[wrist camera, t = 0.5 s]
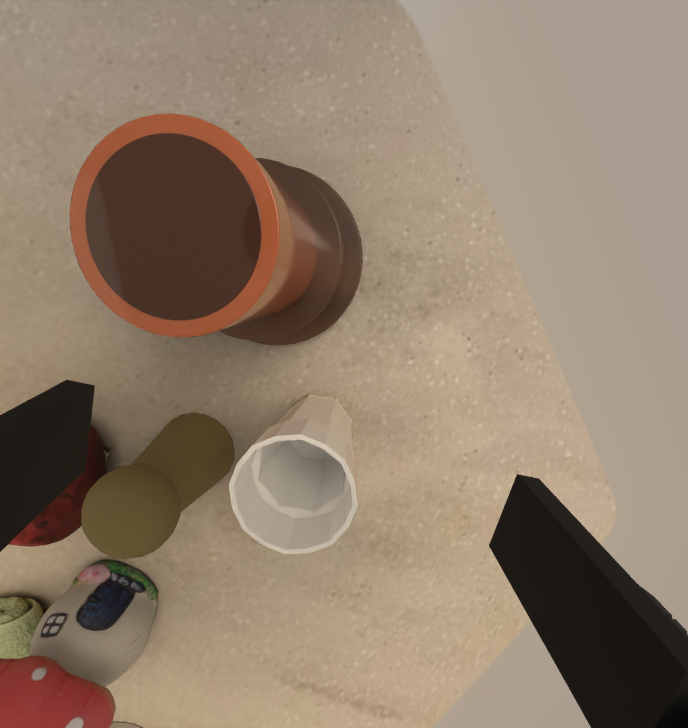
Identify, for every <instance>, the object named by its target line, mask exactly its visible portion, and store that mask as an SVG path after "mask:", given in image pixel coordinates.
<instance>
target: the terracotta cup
mask: <svg viewBox="0 0 688 728" xmlns="http://www.w3.org/2000/svg"><path fill="white" fill-rule="evenodd" d="M70 231H71V239H72V244H73V247H74V251H75V255H76V258H77V260H78V263H79V266H80V268H81V270H82V272H83V274H84V276H85V278H86V280H87V282H88V283H89V284H90V286H91V287H92V289H93V290H94V292H95V293H96V294H97V295H98V297H99V298H100V299H101V300H102V301H103V302H104V304H106V305H107V306H108V307H109V308H110V309H111V310H112V311H113V312H114V313H116V314H117V315H118V316H120V317H121V318H123V319H124V320H125V321H127V322H129V323H131V324H132V325H134V326H136V327H138V328H140V329H143V330H145V331H148V332H150V333H154V334H158V335H162V336H169V337H195V336H202V335H206V334H209V333H213V332H216V331H219V330H223V329H226V328H229V327H232V326H236V325H239V324H242V323H246V322H249V321H252V320H256V319H259V318H262V317H266V316H269V315H272V314H276V313H278V312H280V311H283V310H285V309H286V308H288V307H289V306H291V305H292V304H293V303H295V302H296V301H297V300H298V299H299V298H300V297H301V296H302V295H303V293H304V292H305V290H306V289H307V288H308V286H309V284H310V282H311V280H312V277H313V274H314V271H315V267H316V261H317V244H316V238H315V234H314V231H313V228H312V226H311V223H310V221H309V219H308V218H307V216H306V214H305V213H304V212H303V210H302V209H301V208H300V206H299V205H298V204H297V203H296V202H295V201H294V200H293V199H292V198H291V197H290V196H289V194H288V193H287V192H286V191H285V190H284V189H283V188H282V187H281V186H280V185H279V183H278V182H277V181H276V180H275V179H274V178H273V177H272V176H271V175H270V174H269V173H268V171H267V170H266V169H265V168H264V167H263V166H262V165H261V164H260V163H259V162H258V161H257V159H256V158H255V157H254V156H253V155H252V154H251V153H250V152H249V151H248V150H247V149H246V148H245V147H244V146H243V145H242V144H241V143H240V142H239V141H238V140H237V139H235V138H234V137H233V136H232V135H230V134H229V133H228V132H226V131H225V130H223V129H221V128H219V127H217V126H216V125H214V124H212V123H209V122H207V121H204V120H202V119H199V118H195V117H191V116H187V115H180V114H155V115H150V116H145V117H141V118H138V119H135V120H133V121H130V122H128V123H126V124H124V125H122V126H120V127H118V128H116V129H115V130H114V131H112V132H111V133H110V134H108V135H107V136H106V137H105V138H104V139H103V140H102V141H101V142H100V143H99V144H98V145H97V146H96V147H95V148H94V149H93V151H92V152H91V153H90V155H89V156H88V157H87V159H86V160H85V162H84V164H83V166H82V168H81V170H80V172H79V174H78V177H77V179H76V182H75V185H74V189H73V193H72V197H71V206H70Z"/></svg>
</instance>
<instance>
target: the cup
mask: <svg viewBox="0 0 688 728" xmlns="http://www.w3.org/2000/svg"><path fill="white" fill-rule="evenodd" d="M229 491H230V497H231V504H232V509H233V511H234V513H235V515H236V517H237V519H238V521H239V523H240V525H241V527H242V529H243V531H245V532H246V533H247V534H249V535H250V536H251V537H252V538H254V539H255V540H256V541H258V542H259V543H260V544H261V545H263V546H266V547H268V548H271V549H273V550H276V551H278V552H281V553H283V554H303V553H312V552H314V551H317V550H320V549H323V548H326V547H329V546H331V545H333V544H334V543H335V542H336V541H337V540H338V539H339V537H340V536H341V535H342V534H343V533H344V532H345V531H346V530H347V529H348V528H349V525H350V523H351V521H352V519H353V516H354V514H355V512H356V510H357V507H358V498H357V476H356V466H355V459H354V457H353V454H352V418H351V417H350V416H349V414H348V413H347V412H346V410H345V409H344V408H343V406H342V405H341V404H340V403H339V401H338V400H337V399H336V398H333V397H326V396H320V395H314V394H309V395H307V396H306V397H305V398H303V399H302V400H300V401H299V402H298V403H296V404H295V405H294V406H292V407H291V408H289V409H288V411H287V412H286V414H285V415H284V416H283V417H282V418H281V419H280V420H279V421H278V422H277V423H276V425H274V426H272V427H269V428H268V429H267V430H266V431H265V432H264V433H263V434H262V435H261V436H260V437H259V438H258V439H257V441H256V442H255V443H254V444H253V445H252V446H251V447H250V448H249V450H248V451H247V452H246V453H245V454H244V456H243V457H242V458H241V459H240V460H239V462H238V463H237V465H236V467H235V470H234V473H233V475H232V478H231V481H230V483H229Z"/></svg>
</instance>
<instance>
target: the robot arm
mask: <svg viewBox="0 0 688 728" xmlns="http://www.w3.org/2000/svg"><path fill="white" fill-rule="evenodd" d="M94 387H95V386H94V385H89V384H84V383H79V382H74V381H70V380H66V381H64V382H62V383H60V384H58V385H56V386H54V387H53V388H51V389H49V390H47V391H45V392H43V393H41V394H39V395H37V396H36V397H34V398H32V399H30V400H28V401H26V402H24V403H22V404H21V405H19V406H17V407H15V408H13V409H11V410H9V411H7V412H6V413H4V414H2V415H0V552H1V551H2V550H3V549H4V548H5V547H6V546H7V545H8V544H9V543H10V542H11V541H12V540H13V539H14V538H15V537H16V536H17V535H18V534H19V533H20V532H21V531H23V530H24V529H25V528H26V527H27V526H28V525H29V524H30V523H31V522H32V521H33V520H34V519H35V518H36V517H37V516H38V515H39V514H40V513H41V512H42V511H43V510H44V509H45V508H46V507H48V506H49V505H50V504H51V503H52V502H53V501H54V500H55V499H56V498H57V497H58V496H59V495H60V494H61V493H62V492H63V491H64V490H65V489H66V488H67V487H68V486H69V485H70V484H71V483H73V482H74V481H75V480H76V479H77V478H78V477H79V476H80V475H81V474H82V473H83V472H84V471H85V469H86V460H87V451H88V442H89V433H90V424H91V415H92V405H93V396H94ZM489 547H490V548H491V550H492V552H493V554H494V555H495V557H496V559H497V561H498V563H499V564H500V566H501V568H502V570H503V571H504V573H505V575H506V577H507V579H508V580H509V582H510V584H511V586H512V587H513V589H514V591H515V593H516V595H517V596H518V598H519V600H520V602H521V604H522V605H523V607H524V609H525V611H526V612H527V614H528V616H529V618H530V620H531V621H532V623H533V625H534V627H535V628H536V630H537V632H538V634H539V636H540V637H541V639H542V641H543V643H544V644H545V646H546V648H547V650H548V652H549V653H550V655H551V657H552V659H553V660H554V662H555V664H556V666H557V668H558V669H559V671H560V673H561V675H562V676H563V678H564V680H565V682H566V684H567V685H568V687H569V689H570V691H571V692H572V694H573V696H574V698H575V699H576V701H577V703H578V705H579V707H580V709H581V710H582V712H583V714H584V716H585V717H586V719H587V721H588V723H589V725H590V726H591V728H688V635H687V631H686V630H685V629H684V628H683V627H682V626H681V625H680V623H678V621H677V620H676V619H672V615H671V614H670V613H669V612H668V611H667V610H666V609H665V608H664V607H663V606H662V605H661V603H660V602H659V601H658V600H657V599H656V598H655V597H654V596H652V595H651V594H650V593H649V592H647V591H646V590H645V589H643V588H642V587H640V586H639V585H638V584H637V583H636V582H635V581H634V580H633V579H632V578H631V577H630V576H629V574H628V573H627V572H626V571H625V570H624V569H623V568H622V567H621V566H620V565H619V564H618V563H617V562H616V561H615V559H613V557H612V556H611V555H610V554H609V553H608V552H607V551H606V550H605V549H604V548H603V547H602V546H601V545H600V543H599V542H598V541H597V540H596V539H595V538H594V537H593V536H592V535H591V534H590V533H589V532H588V531H587V530H586V529H585V527H584V526H583V525H582V524H581V523H580V522H579V521H578V520H577V519H576V518H575V517H574V516H573V515H572V514H571V512H570V511H569V510H568V509H567V508H566V507H565V506H564V505H563V504H562V503H561V502H560V501H559V500H558V499H557V498H556V496H555V495H554V494H553V493H552V492H551V491H550V490H549V489H548V488H547V487H546V486H545V485H544V484H543V483H542V481H541V480H540V479H538V478H533V477H528V476H523V475H519V474H517V476H516V478H515V481H514V483H513V486H512V489H511V491H510V494H509V496H508V499H507V501H506V504H505V506H504V509H503V511H502V514H501V516H500V519H499V522H498V524H497V527H496V529H495V532H494V534H493V537H492V539H491V542H490V544H489Z"/></svg>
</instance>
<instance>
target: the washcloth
mask: <svg viewBox="0 0 688 728" xmlns="http://www.w3.org/2000/svg"><path fill="white" fill-rule="evenodd" d="M43 615H44V614H43V608H41V605H39V603H38V602H37V601H35V600H33V599H31V598H19V597H9V598H0V658H2V659H12V658H13V659H19V658H24V657H27V656H30V647H31V642H32V638H33V635H34V632H35V630H36V628H37V626H38V624H39V622H40V620H41V619H42V617H43Z"/></svg>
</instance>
